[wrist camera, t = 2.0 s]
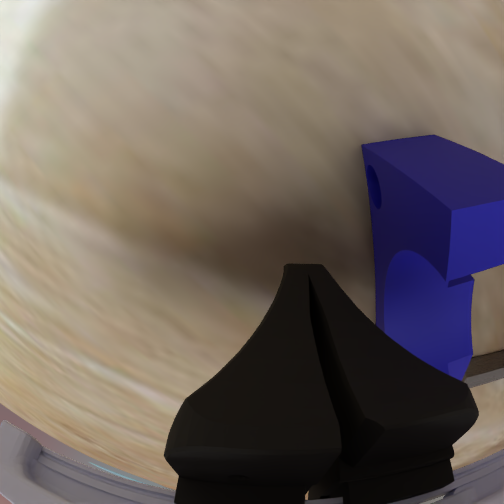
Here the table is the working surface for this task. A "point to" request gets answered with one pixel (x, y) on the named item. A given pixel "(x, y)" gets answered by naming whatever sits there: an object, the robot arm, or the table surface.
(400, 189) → the cable clip
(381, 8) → the table surface
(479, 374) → the rail
